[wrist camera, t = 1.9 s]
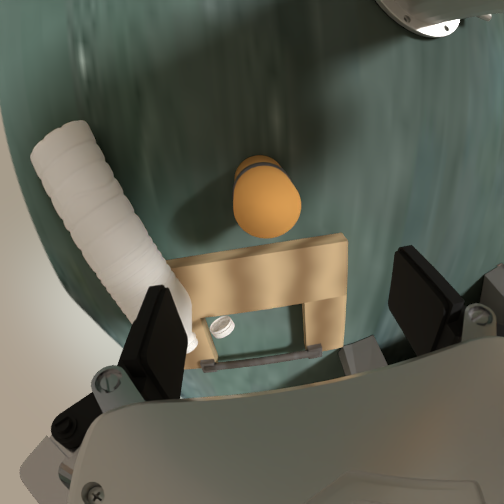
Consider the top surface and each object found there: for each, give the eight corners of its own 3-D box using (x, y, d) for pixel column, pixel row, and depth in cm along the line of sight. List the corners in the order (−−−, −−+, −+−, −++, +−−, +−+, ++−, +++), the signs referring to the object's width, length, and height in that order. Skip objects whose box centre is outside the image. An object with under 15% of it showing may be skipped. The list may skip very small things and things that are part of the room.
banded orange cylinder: (282, 150, 26) (298, 168, 19) (288, 199, 28) (305, 234, 21) (229, 158, 26) (225, 179, 19) (237, 207, 29) (238, 244, 22)
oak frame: (341, 232, 30) (351, 245, 28) (339, 337, 38) (345, 353, 35) (144, 263, 31) (136, 279, 28) (184, 359, 39) (181, 375, 36)
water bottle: (49, 158, 24) (168, 342, 32) (17, 160, 18) (163, 378, 26) (113, 110, 24) (231, 309, 32) (90, 97, 18) (238, 342, 26)
